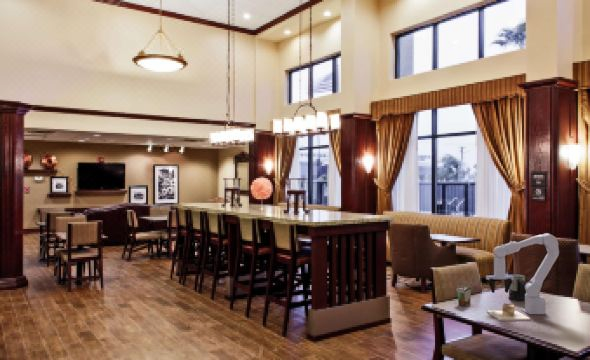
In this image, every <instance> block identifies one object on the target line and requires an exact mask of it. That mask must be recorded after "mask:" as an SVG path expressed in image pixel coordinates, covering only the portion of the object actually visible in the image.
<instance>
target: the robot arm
mask: <svg viewBox="0 0 590 360" xmlns="http://www.w3.org/2000/svg"><path fill="white" fill-rule="evenodd" d="M536 244H537V245H538V244H539V245H543V246H545V249H546V252H547V253H546V255H545V256H544V258H543V260H542V261H541V263H540V265H539V266H538V268H537V270H536V272H535V273H534V276H533V277H532V278H531V279H530V280H529V281H528V282H526V285H525V290H526V294H525V301H524V309H523V308H521V311H523V312H525V313H526V314H528V315H547V312H546V311H547V309H546V308H547V306H546V305H547V304H546V302H547V301H546V299H545V297H544V296H542V295H540V294H541V288H542V286H543V282H544V281H545V279H546V278H547V276H548V274H549V272H550V271H551V269H552V267H553V265H554V264H555V263H556V261H557V259H558V257H559V254H560V249H559V241H558V240H557V238H556V236H554V235H553V234H551V233H549V232H545V233H543V234H538V235H534V236H532V237H528V238H526V239H524V240H521V241H515V240H514V241H512V240H510V241H509V242H508V243H504V244H500V245H497V246H495V247H494V248H493V254H494V258H493V274H492V275H485V280H487V282H488V284H489V287H490V290H491V293H493V294H495V291H496V290H495V289H496V287H495V285H496V281H495V280H503V283H504V292H505V293H507V294H509V288H510V285H511V284H512V282H513V281H512V280H513V276H508V275H509V274H506V256H507V255H508V256H509V255H511V254H514V253H517V252H519V251H520V249H521V248H525V247H528V246H533V245H536Z"/></svg>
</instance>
